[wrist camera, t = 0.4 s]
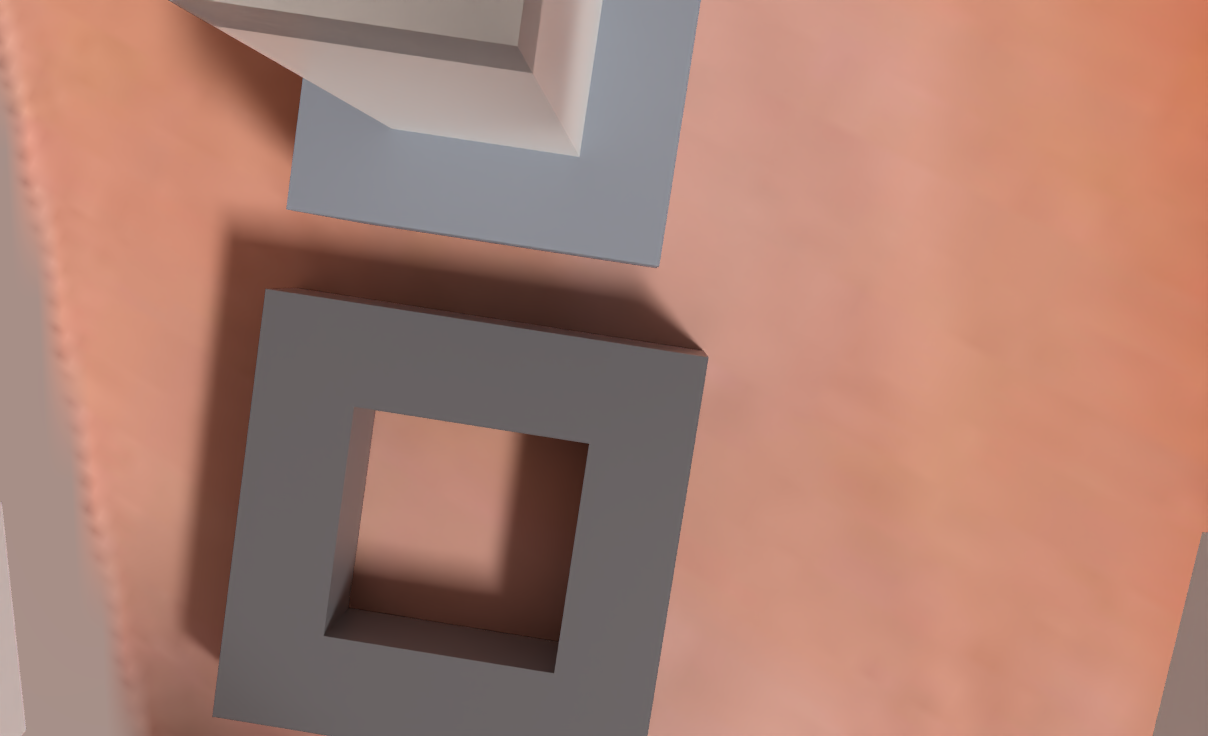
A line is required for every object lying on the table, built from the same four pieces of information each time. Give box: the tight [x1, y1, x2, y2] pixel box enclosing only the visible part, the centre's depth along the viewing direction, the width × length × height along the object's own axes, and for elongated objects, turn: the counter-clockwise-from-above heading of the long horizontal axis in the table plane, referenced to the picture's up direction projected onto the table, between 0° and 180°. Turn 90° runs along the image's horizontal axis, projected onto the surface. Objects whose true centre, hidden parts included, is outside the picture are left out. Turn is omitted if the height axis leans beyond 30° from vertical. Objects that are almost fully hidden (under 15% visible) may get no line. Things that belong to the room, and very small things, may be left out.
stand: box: [286, 0, 701, 268], centre depth 33 cm, size 10×10×8 cm
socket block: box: [212, 288, 708, 736], centre depth 36 cm, size 14×14×3 cm
